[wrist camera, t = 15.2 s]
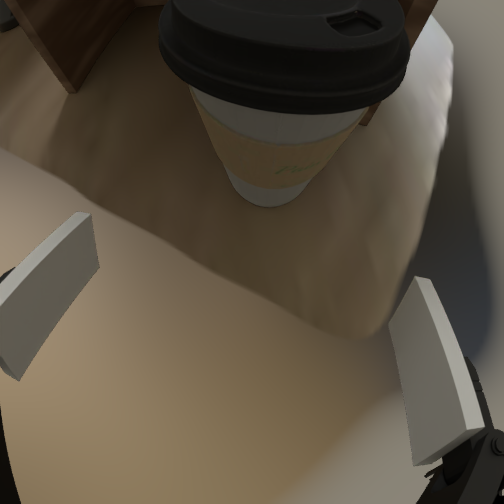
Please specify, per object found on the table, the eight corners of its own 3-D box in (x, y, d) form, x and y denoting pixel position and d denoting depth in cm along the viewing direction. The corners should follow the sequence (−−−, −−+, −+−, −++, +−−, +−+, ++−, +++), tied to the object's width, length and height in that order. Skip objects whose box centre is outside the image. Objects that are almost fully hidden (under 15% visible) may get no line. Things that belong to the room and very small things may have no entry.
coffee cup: (301, 254, 20) (408, 131, 6) (178, 196, 21) (88, 31, 6) (348, 147, 22) (431, -7, 7) (239, 101, 23) (233, -66, 8)
